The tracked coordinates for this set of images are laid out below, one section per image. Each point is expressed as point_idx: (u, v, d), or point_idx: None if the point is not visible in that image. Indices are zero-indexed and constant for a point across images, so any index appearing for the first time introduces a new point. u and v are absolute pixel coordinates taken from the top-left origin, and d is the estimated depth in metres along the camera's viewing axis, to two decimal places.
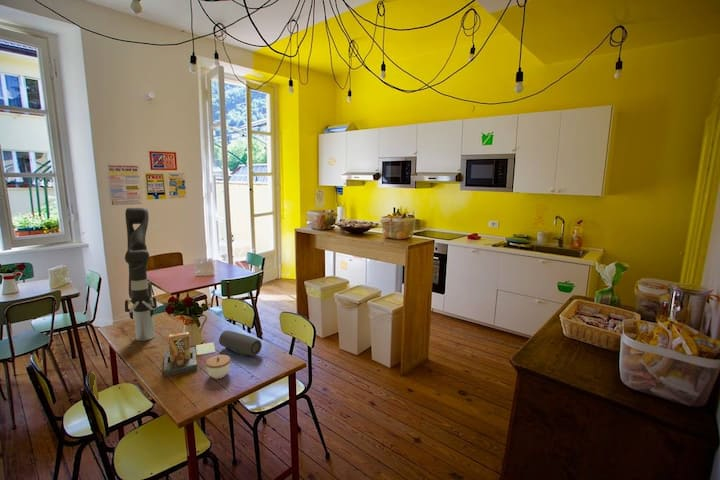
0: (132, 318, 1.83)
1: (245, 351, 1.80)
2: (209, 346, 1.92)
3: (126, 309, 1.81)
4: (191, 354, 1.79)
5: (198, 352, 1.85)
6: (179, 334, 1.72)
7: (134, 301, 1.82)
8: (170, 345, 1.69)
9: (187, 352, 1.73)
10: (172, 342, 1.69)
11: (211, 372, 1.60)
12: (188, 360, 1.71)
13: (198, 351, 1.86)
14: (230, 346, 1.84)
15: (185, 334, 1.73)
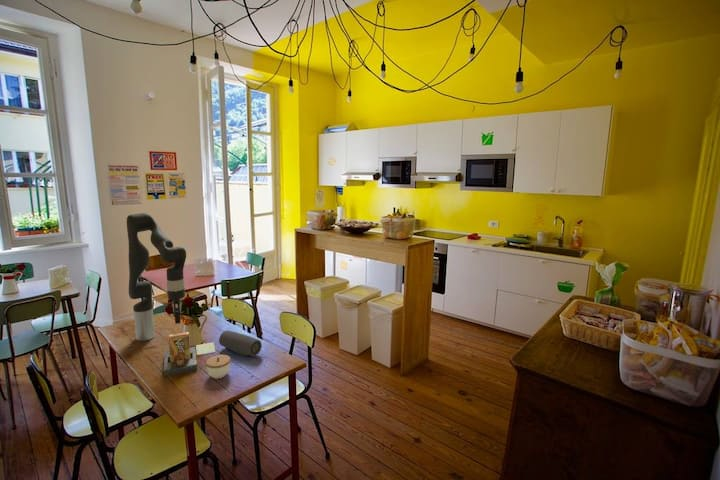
0: None
1: (245, 351, 1.80)
2: (209, 346, 1.92)
3: None
4: (191, 354, 1.79)
5: (198, 352, 1.85)
6: (179, 334, 1.72)
7: (179, 303, 1.67)
8: (170, 345, 1.69)
9: (187, 352, 1.73)
10: (172, 342, 1.69)
11: (211, 372, 1.60)
12: (188, 360, 1.71)
13: (198, 351, 1.86)
14: (230, 346, 1.84)
15: (185, 334, 1.73)
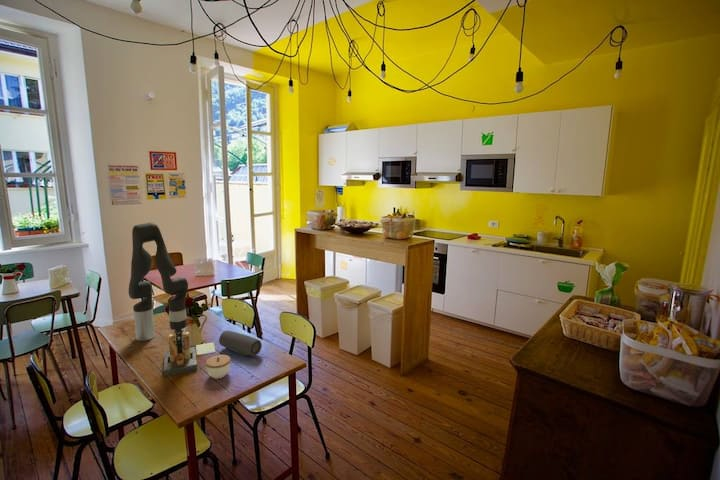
0: None
1: (245, 351, 1.80)
2: (209, 346, 1.92)
3: None
4: (191, 354, 1.79)
5: (198, 352, 1.85)
6: None
7: (181, 333, 1.70)
8: (170, 345, 1.69)
9: (187, 352, 1.73)
10: (172, 342, 1.69)
11: (211, 372, 1.60)
12: (188, 360, 1.71)
13: (198, 351, 1.86)
14: (230, 346, 1.84)
15: (185, 334, 1.73)
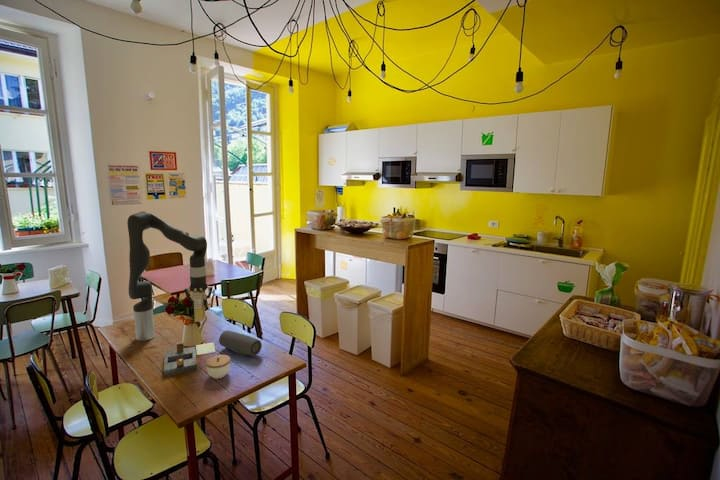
0: None
1: (245, 351, 1.80)
2: (209, 346, 1.92)
3: None
4: (191, 354, 1.79)
5: (198, 352, 1.85)
6: None
7: None
8: (202, 300, 1.79)
9: None
10: (202, 297, 1.80)
11: (211, 372, 1.60)
12: (188, 360, 1.71)
13: (198, 351, 1.86)
14: (230, 346, 1.84)
15: None
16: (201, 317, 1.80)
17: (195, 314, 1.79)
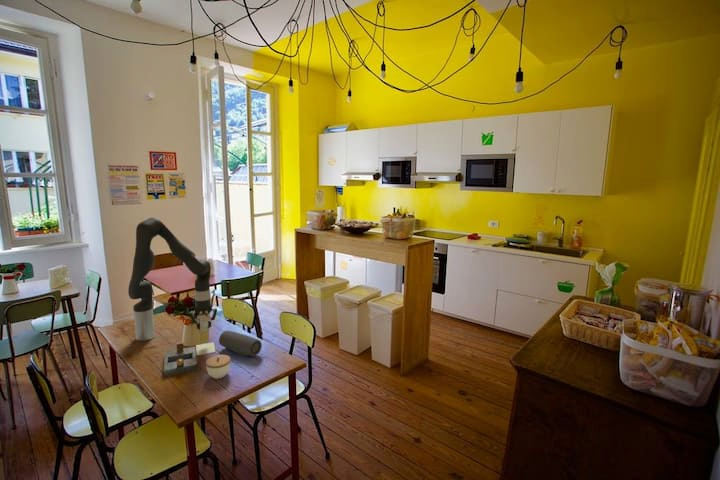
0: None
1: (245, 351, 1.80)
2: (209, 346, 1.92)
3: None
4: (191, 354, 1.79)
5: (198, 352, 1.85)
6: None
7: None
8: None
9: None
10: None
11: (211, 372, 1.60)
12: (188, 360, 1.71)
13: (198, 351, 1.86)
14: (230, 346, 1.84)
15: None
16: (207, 339, 1.85)
17: (201, 336, 1.84)
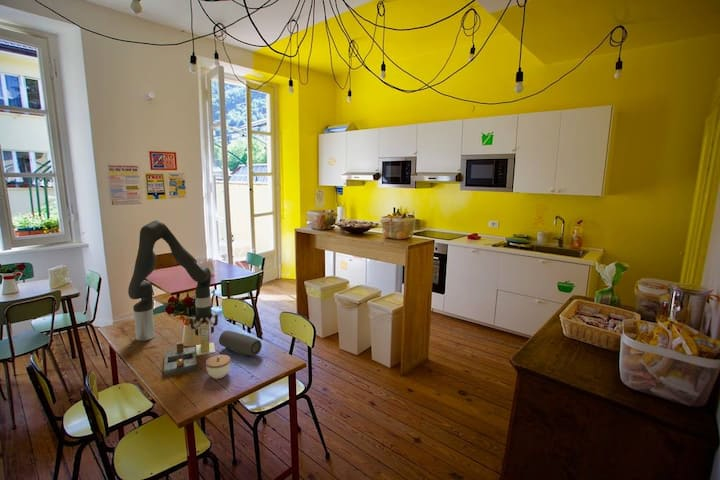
0: None
1: (245, 351, 1.80)
2: (209, 346, 1.92)
3: None
4: (191, 354, 1.79)
5: (198, 352, 1.85)
6: None
7: None
8: None
9: None
10: (208, 327, 1.86)
11: (211, 372, 1.60)
12: (188, 360, 1.71)
13: (198, 351, 1.86)
14: (230, 346, 1.84)
15: None
16: (208, 347, 1.86)
17: (202, 345, 1.85)
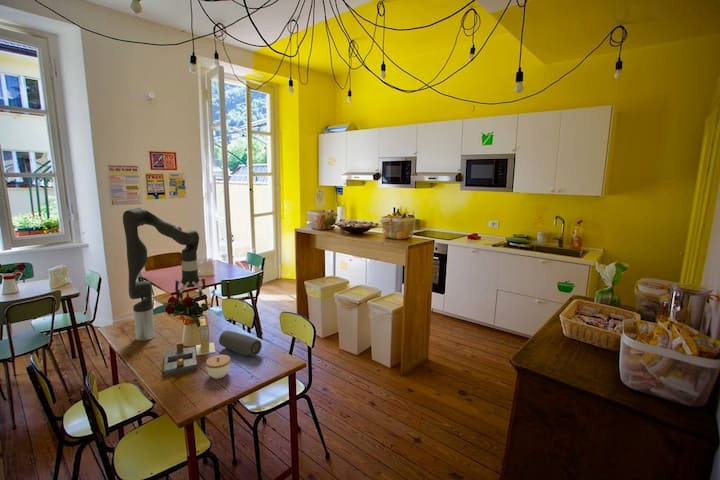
0: (199, 295, 1.88)
1: (245, 351, 1.80)
2: (209, 346, 1.92)
3: None
4: (191, 354, 1.79)
5: (198, 352, 1.85)
6: (203, 321, 1.87)
7: None
8: (208, 331, 1.85)
9: None
10: (208, 327, 1.86)
11: (211, 372, 1.60)
12: (188, 360, 1.71)
13: (198, 351, 1.86)
14: (230, 346, 1.84)
15: (205, 319, 1.90)
16: (208, 347, 1.86)
17: (202, 345, 1.85)
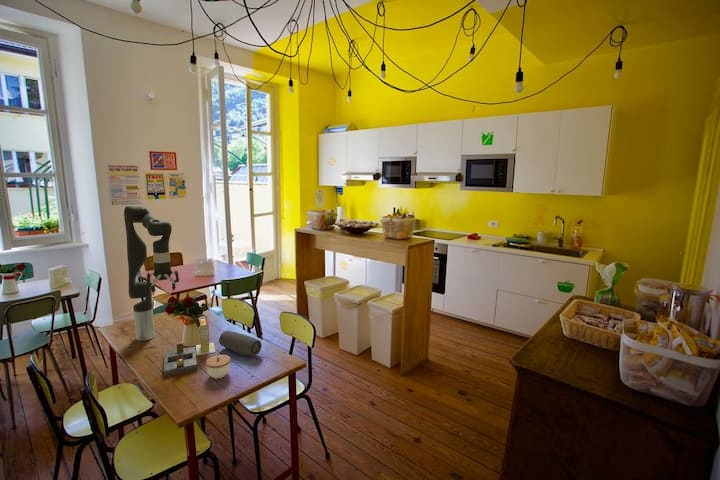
0: None
1: (245, 351, 1.80)
2: (209, 346, 1.92)
3: None
4: (191, 354, 1.79)
5: (198, 352, 1.85)
6: (203, 321, 1.87)
7: None
8: (208, 331, 1.85)
9: None
10: (208, 327, 1.86)
11: (211, 372, 1.60)
12: (188, 360, 1.71)
13: (198, 351, 1.86)
14: (230, 346, 1.84)
15: (205, 319, 1.90)
16: (208, 347, 1.86)
17: (202, 345, 1.85)
